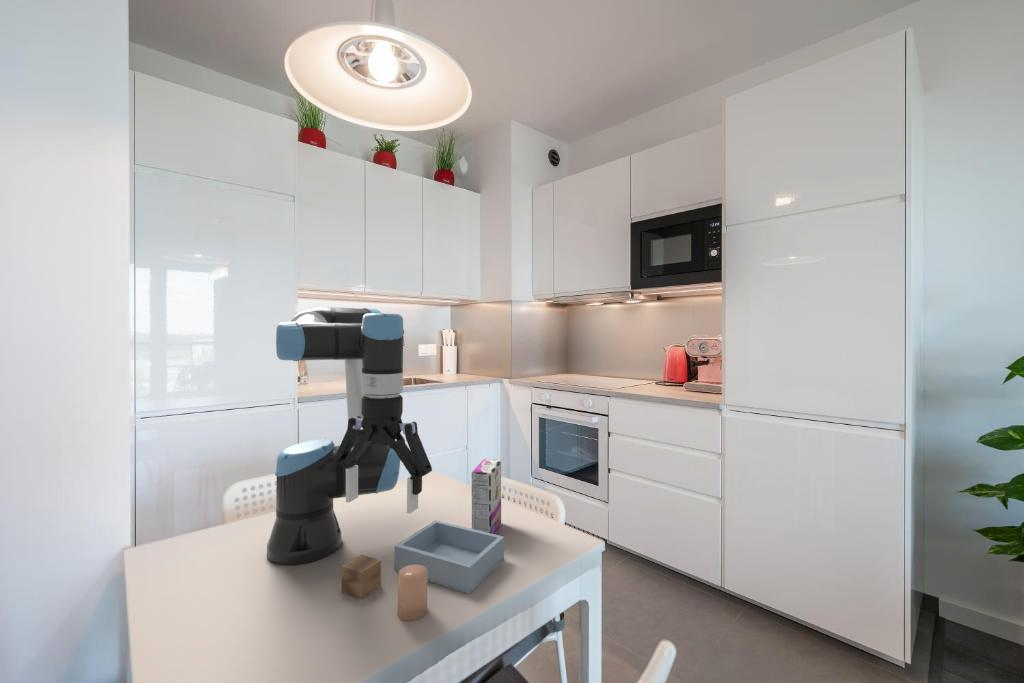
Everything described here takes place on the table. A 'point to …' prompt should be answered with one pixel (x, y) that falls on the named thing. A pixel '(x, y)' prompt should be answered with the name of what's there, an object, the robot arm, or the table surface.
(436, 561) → the tote
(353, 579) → the walnut cube
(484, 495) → the candy bar box
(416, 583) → the peach rounded cylinder
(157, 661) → the table surface
